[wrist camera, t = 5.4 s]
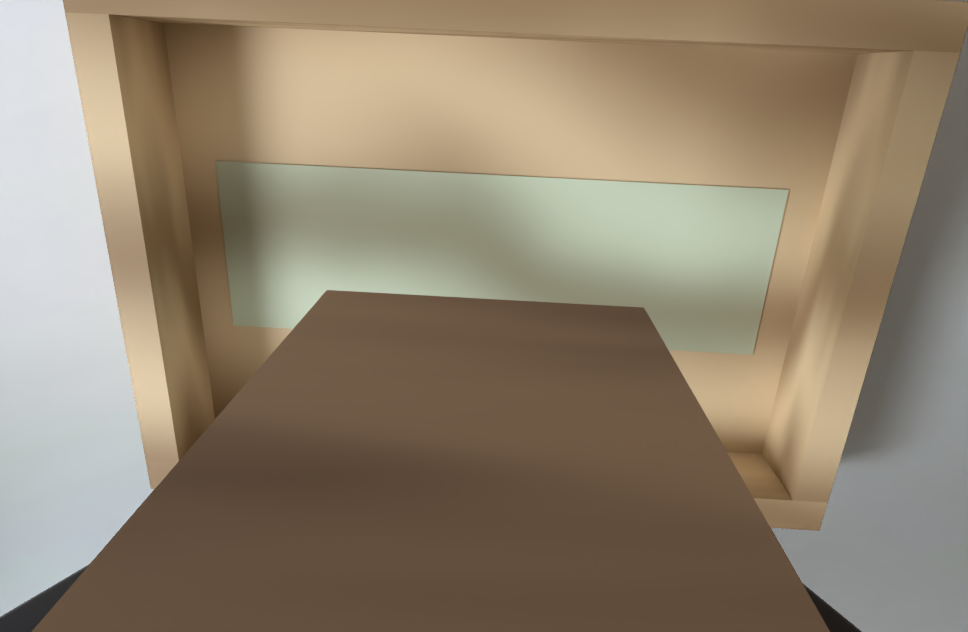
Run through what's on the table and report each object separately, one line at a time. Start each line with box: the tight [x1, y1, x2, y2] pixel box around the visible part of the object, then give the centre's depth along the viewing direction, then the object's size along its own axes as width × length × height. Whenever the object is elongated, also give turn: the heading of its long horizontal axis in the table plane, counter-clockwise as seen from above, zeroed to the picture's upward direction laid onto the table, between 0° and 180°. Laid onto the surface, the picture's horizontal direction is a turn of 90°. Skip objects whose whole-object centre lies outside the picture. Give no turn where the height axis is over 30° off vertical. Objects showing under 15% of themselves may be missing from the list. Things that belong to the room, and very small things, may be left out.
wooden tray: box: [63, 0, 968, 531], centre depth 17 cm, size 14×20×3 cm
